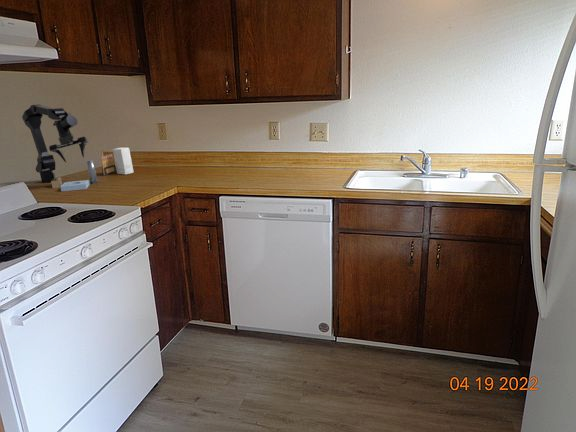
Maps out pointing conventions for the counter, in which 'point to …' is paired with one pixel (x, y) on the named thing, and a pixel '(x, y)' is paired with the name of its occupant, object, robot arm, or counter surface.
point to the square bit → (56, 182)
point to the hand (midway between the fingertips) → (74, 159)
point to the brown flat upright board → (108, 165)
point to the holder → (75, 185)
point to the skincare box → (123, 160)
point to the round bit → (92, 171)
